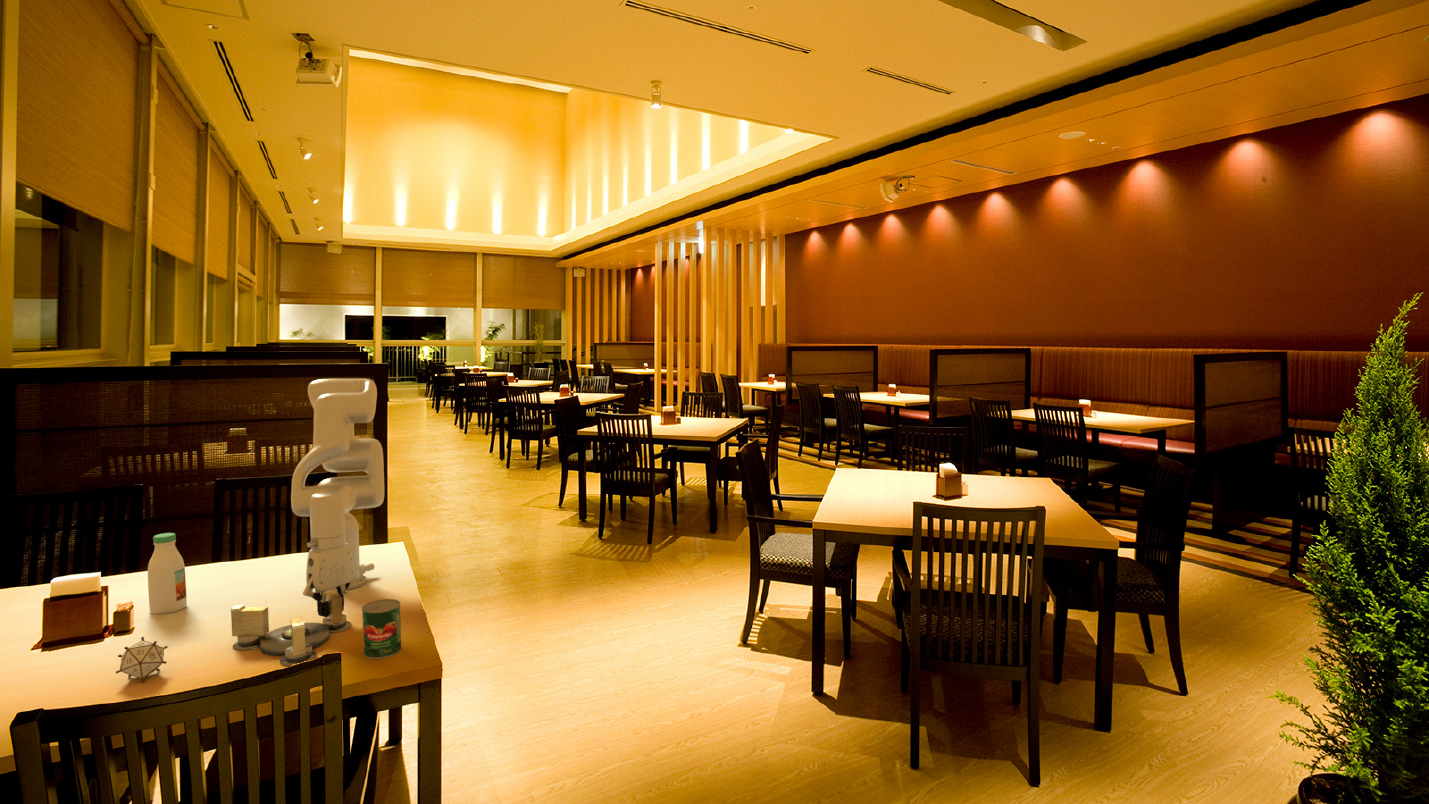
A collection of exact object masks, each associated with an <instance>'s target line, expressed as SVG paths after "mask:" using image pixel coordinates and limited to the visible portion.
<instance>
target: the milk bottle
mask: <svg viewBox="0 0 1429 804" xmlns="http://www.w3.org/2000/svg"><path fill="white" fill-rule="evenodd" d="M152 539H153V540H152V541H153V546H154V551H153V553H152V556H151V558H150V559H149V561H148V565H147V588H148V605H149V612H150V613H151V614H154V615H164V614H170V613H174V612H177V611H181V610H183V609H184V608H186V606H187V605H188V604H187V603H188V602H187V600H188V599H187V598H188V597H187V582H186V567H185V563H184V559H183V557H182V555H181V554H180V552H179V550H178V549H177V546H176V542H177V540H176V539H177V537H176V533H174V532H164V533H160V534H155V535H154V536H153V537H152Z"/></svg>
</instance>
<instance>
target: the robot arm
mask: <svg viewBox="0 0 1429 804" xmlns="http://www.w3.org/2000/svg"><path fill="white" fill-rule="evenodd" d="M377 391H378V390H377V385H376V383H375V381H374V380H372V379H370V378H361V377H360V378H319V379H315V380H312V381H311V382H310V383H308V386H307V396H308V398H309V401H310V405H311V407H312V408H313V409H312V410H313V433H312V434H313V437H312V438H313V439H312V448H311V450H309V451H308V452H307V454H305V455H304V456H303V458H301V460H300V461H299V462H298V464H297V465H296V467H295V469H294V472H293V475H292V478H291V493H290V502H291V503H290V504H291V505H290V506H291V510H292V512H293V514H294V515H296V516H297V517H302V518H303V517H309V522H310V523H309V524H310V525H309V526H310V541H309V542H307V543H306V547H307V548H309V551H308V555H307V560H306V571H305V572H306V575H305V577H306V586H305V588H304V589H303V592H302V595H303V596H305V597H309V598H312V599H313V600H314V601H316V606H317V609H316V611H317V615H318V616H320V617H323V618H325V617H328V616H329V602H328V601H326V596H327V590H330V589H333V588H335V587H336V588H337V592H338V593H339V595H340V596H341V597H342V612H343V611H345V607H344V606H345V598H344V597H345V596H346V594H347V590H352V589H355V588H358V587H360V586H362V585H365V583H366V582H367V577H366V576H365V575H364V574H366V572H370V571H373V570H374V569H375V564H374V563H373V562H372V563H368V564H366V565H365V564H363V563H362V564H360V562H361V561H360V541H359V540H360V534H359V523H358V521H357V519H356V517H355V516H354V515H353V514H352V513H351V511H352V510H358V509H362V510H363V509H371V508H372V509H373V508H377V507H380V506H381V505H382V504H383V503H384V499H385V472H384V471H385V467H384V464H385V463H384V451H383V446H382V444H381V442H380V441H379V440H378V439H376V438H372V437H371V438H368V437H367V438H356V437H355V424H366V423H371V422H372V421H373V420H374V418H375V414H376V411H377V410H376V409H377V408H376V407H377V397H378V392H377ZM320 465H322V468H323V469H324V470H325V471H327V472H330V473H349V472H351V473H352V472H365V473H366V474H367V475H355V476H354V475H353V476H351V475H350V476H334V477H329V478H326V479H325V478H324V479H322V481H320V482H319V483H318V484H317V485H311V486H310V485H309V486H305V485H306V479H307V477H308V475H309V474H310V473H311V472H312V471H314V470H315V469H316V468H317V467H320ZM313 590H314V591H313Z"/></svg>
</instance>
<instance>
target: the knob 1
mask: <svg viewBox="0 0 1429 804" xmlns="http://www.w3.org/2000/svg"><path fill="white" fill-rule="evenodd" d="M245 605H246V604H236V605H234V606H232V607H231V608H230V619H231V620H230V622H231V636H232V637H237V638H236V639H237V642H238V645H239V646H251V645H255V644H258V643H260V639H261V638H262V637H263V636H264V635H265V634H267V633H269V632H270V624H269V607H268V606H255V607H254V606H253V607H252V606H251V607H250V606H249V607H246V606H245Z"/></svg>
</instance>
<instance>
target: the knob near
mask: <svg viewBox="0 0 1429 804" xmlns="http://www.w3.org/2000/svg"><path fill="white" fill-rule="evenodd" d="M326 601H328V602H329V616H328V617H323V618H322V624H325V625H327V626H328V627H329V629H337V628H341V627H343V626H345V625H346V624H347V621H348V619H347V615H346V614H343V611H342V597H341V596H340V595H339V593H338V592H337V588H336V587H335V588H333V589H330V590H327V596H326Z"/></svg>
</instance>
